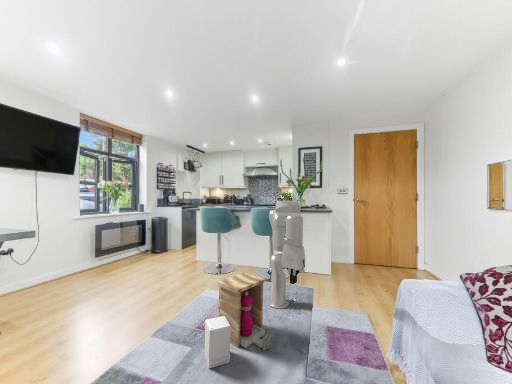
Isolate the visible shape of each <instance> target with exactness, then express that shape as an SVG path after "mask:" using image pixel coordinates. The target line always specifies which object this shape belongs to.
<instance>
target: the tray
mask: <svg viewBox="0 0 512 384" xmlns="http://www.w3.org/2000/svg"><path fill="white" fill-rule="evenodd" d="M261 338H262V339H261ZM253 344H254V345H256V346H257V347H259V348H261V349H262V350H263V351H264V352H265V351H266V350H268V349H269V348H270V347H271V335H270V334H269V333H268V334H266V335H265V329H263V328H262V329H261V328H259V327H258V326H256V325H254V324H253V327H252V335H251V336H249V337H242V336H241V335H240V347H241V346H242V347H243V348H245V349H246V348H248V347H250V346H251V345H253Z"/></svg>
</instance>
